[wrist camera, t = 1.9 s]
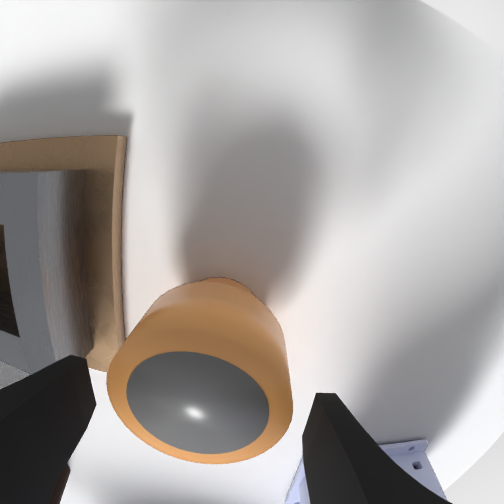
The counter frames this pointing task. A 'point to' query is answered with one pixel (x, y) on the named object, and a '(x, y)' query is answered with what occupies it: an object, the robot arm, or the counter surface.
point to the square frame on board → (61, 250)
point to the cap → (204, 375)
